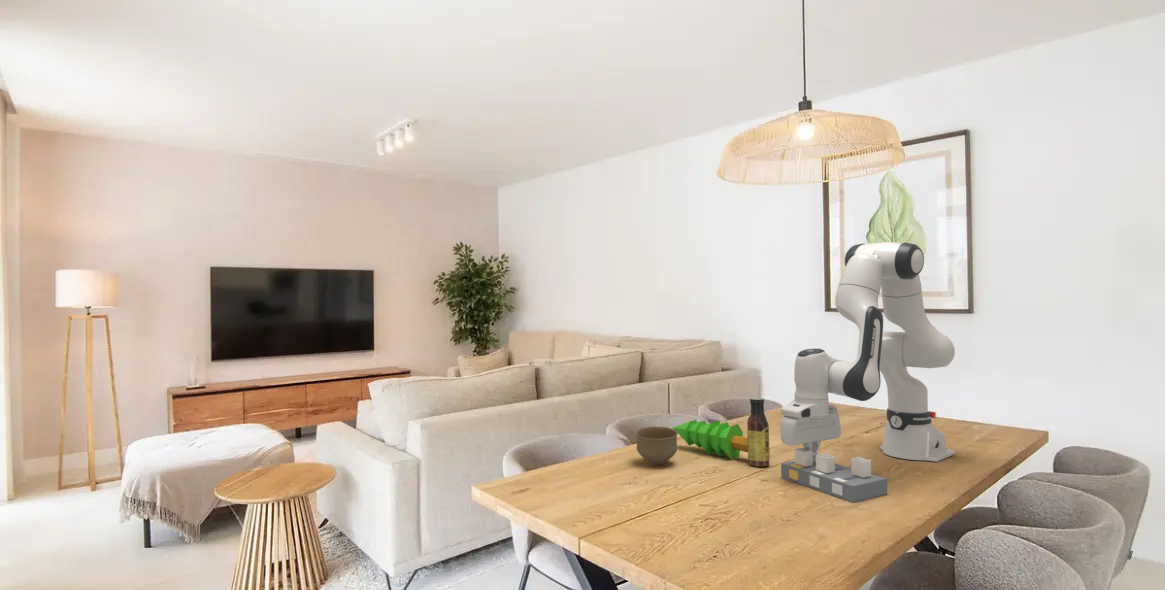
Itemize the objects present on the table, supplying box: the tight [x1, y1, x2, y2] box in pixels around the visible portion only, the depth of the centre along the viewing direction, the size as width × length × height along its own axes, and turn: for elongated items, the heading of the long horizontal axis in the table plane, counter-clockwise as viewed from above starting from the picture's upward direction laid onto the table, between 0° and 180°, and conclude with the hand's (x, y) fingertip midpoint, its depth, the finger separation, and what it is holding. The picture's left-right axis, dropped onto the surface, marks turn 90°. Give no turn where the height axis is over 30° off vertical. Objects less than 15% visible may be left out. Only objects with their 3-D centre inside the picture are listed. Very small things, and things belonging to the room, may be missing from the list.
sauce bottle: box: [746, 397, 771, 468], centre depth 178 cm, size 7×6×20 cm
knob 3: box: [850, 456, 872, 478], centre depth 153 cm, size 3×4×4 cm
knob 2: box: [816, 453, 836, 473], centre depth 157 cm, size 3×4×4 cm
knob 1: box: [794, 447, 813, 467], centre depth 163 cm, size 3×4×4 cm
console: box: [780, 458, 888, 504], centre depth 158 cm, size 13×23×4 cm, turn 28°
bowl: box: [635, 426, 679, 466], centre depth 179 cm, size 13×13×10 cm
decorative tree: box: [672, 419, 748, 460], centre depth 191 cm, size 11×12×30 cm
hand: (811, 457), depth 164 cm, fingers closed
